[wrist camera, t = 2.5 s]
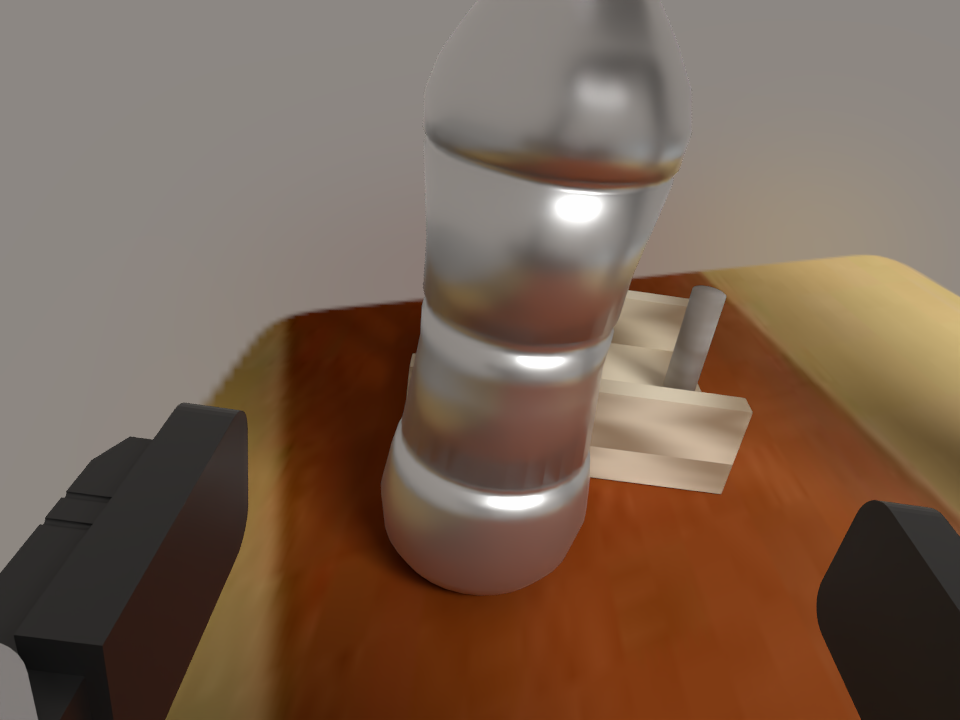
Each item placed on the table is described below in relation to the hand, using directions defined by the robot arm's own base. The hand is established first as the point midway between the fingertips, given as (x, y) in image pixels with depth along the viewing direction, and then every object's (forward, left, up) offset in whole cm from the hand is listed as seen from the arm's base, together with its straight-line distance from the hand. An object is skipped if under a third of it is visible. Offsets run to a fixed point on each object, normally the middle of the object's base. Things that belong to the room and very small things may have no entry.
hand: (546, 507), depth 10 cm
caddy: (-7, -20, -12) cm, 24 cm away
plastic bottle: (-2, -11, -12) cm, 16 cm away
